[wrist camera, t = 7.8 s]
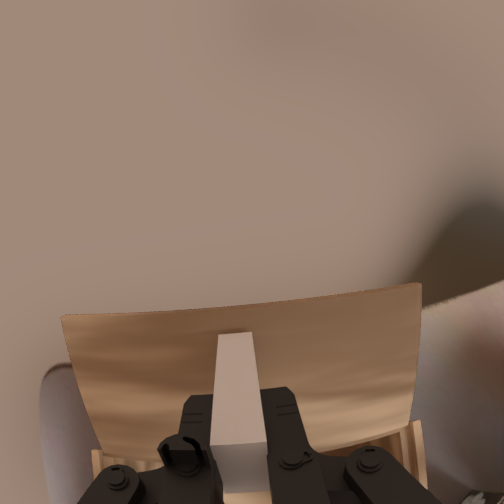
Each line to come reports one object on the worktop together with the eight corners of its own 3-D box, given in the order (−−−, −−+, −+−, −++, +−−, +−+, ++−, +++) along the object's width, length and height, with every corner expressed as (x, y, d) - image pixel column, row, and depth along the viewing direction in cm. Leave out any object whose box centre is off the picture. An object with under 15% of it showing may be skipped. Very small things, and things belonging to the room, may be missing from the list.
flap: (106, 447, 14) (65, 314, 14) (403, 420, 15) (415, 282, 14) (103, 452, 14) (60, 317, 13) (408, 425, 14) (421, 284, 14)
